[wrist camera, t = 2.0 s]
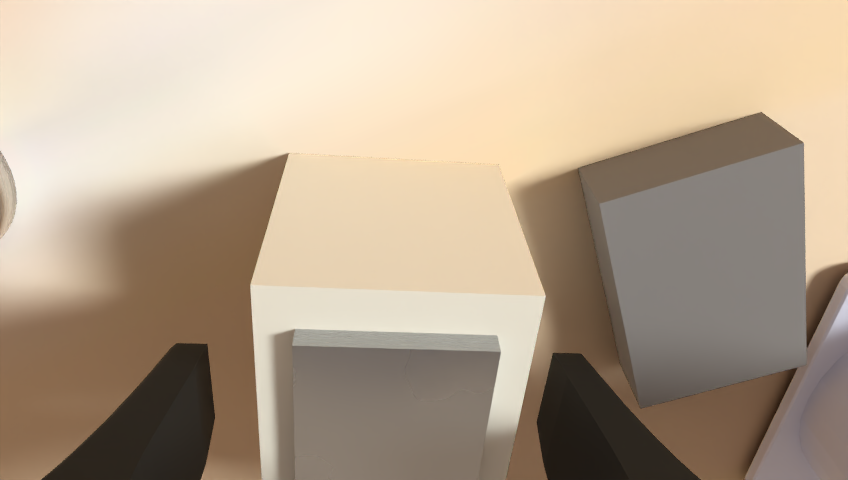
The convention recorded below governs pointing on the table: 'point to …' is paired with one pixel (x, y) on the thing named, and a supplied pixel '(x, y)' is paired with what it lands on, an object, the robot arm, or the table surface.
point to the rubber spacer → (703, 257)
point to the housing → (392, 321)
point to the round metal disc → (6, 196)
